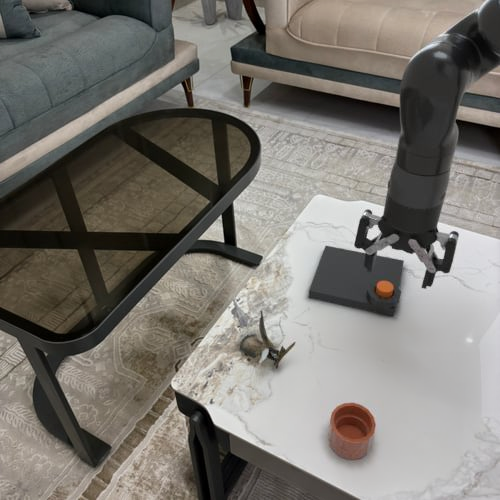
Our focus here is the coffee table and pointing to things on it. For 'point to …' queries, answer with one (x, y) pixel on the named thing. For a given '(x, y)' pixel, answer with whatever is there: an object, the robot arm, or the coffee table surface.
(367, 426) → the brown cup
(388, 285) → the button
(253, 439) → the coffee table surface
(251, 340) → the eagle figurine
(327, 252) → the scale
